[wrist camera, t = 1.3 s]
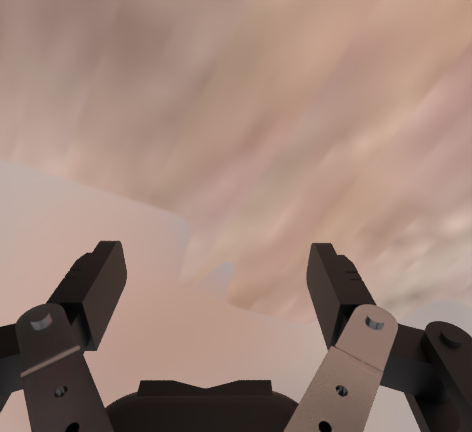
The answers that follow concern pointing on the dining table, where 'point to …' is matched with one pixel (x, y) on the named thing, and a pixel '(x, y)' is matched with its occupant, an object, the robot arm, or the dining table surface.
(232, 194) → the dining table surface
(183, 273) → the dining table surface
